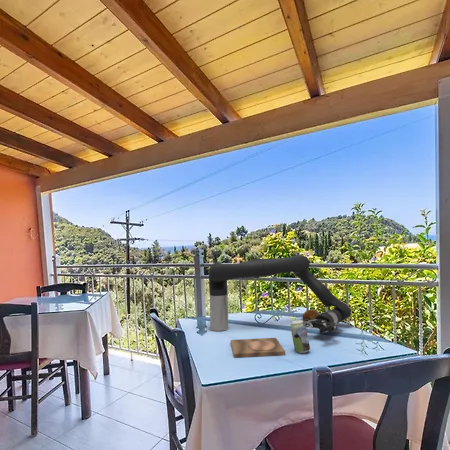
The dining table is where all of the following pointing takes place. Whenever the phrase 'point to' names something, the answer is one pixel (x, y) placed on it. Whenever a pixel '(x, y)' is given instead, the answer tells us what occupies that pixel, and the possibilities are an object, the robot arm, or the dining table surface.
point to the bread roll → (310, 314)
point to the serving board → (256, 347)
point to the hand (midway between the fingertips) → (310, 329)
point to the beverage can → (300, 336)
